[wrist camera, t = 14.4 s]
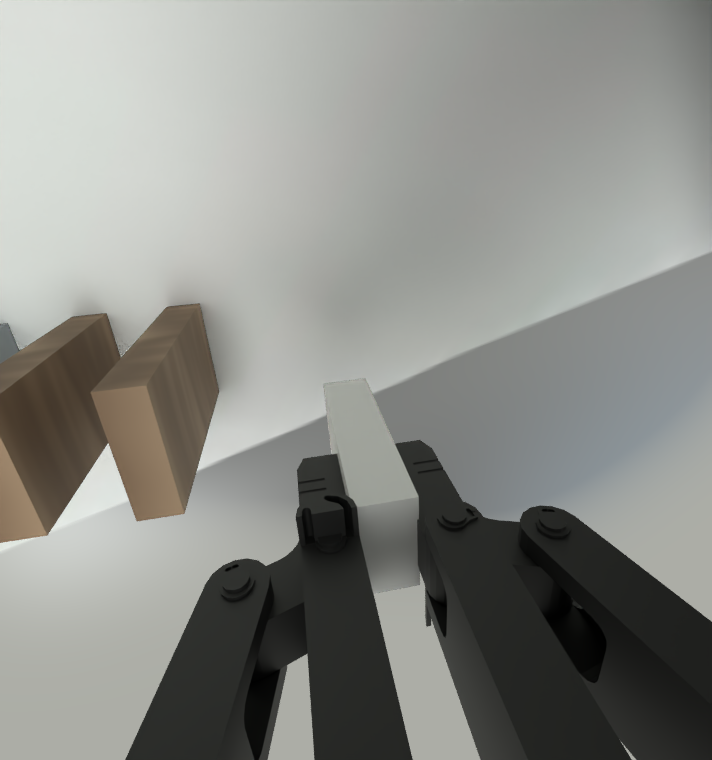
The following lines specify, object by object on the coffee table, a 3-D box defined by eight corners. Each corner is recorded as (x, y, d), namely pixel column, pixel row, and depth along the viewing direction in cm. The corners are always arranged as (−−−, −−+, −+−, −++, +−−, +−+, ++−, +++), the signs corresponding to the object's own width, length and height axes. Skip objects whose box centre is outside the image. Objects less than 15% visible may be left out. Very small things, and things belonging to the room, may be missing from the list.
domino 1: (106, 313, 22) (-15, 405, 13) (134, 402, 24) (47, 535, 15) (72, 316, 22) (-76, 412, 13) (103, 406, 24) (-4, 543, 15)
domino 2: (199, 303, 22) (146, 385, 13) (218, 391, 24) (184, 513, 15) (166, 306, 22) (90, 392, 13) (189, 395, 24) (136, 521, 15)
